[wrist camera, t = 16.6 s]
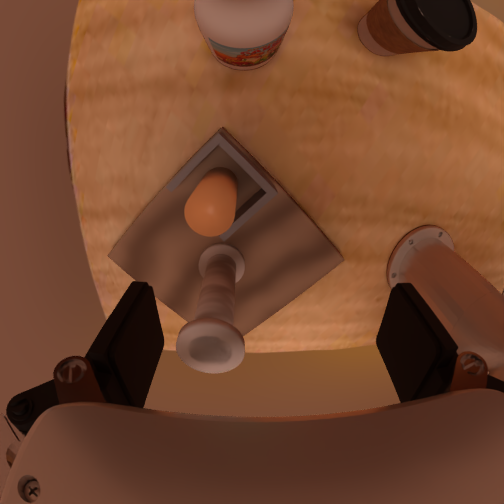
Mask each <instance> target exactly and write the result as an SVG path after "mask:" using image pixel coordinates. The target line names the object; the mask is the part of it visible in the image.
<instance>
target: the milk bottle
mask: <svg viewBox="0 0 504 504" xmlns="http://www.w3.org/2000/svg"><path fill="white" fill-rule="evenodd" d="M194 13H195V18H196V21H197V24H198V26H199V29H200V31H201V33H202V35H203V37H204V39H205V41H206V42H207V44H208V46H209V48H210V50H211V52H212V53H213V55H214V56H215V58H216V59H217V60H218V61H219V62H220V63H222V64H223V65H225V66H227V67H229V68H232V69H237V70H251V69H256V68H259V67H261V66H263V65H265V64H266V63H268V62H269V61H270V60H271V59H272V58H273V57H274V55H275V54H276V52H277V50H278V48H279V46H280V44H281V42H282V40H283V38H284V36H285V34H286V31H287V29H288V27H289V24H290V21H291V18H292V15H293V0H195V1H194Z"/></svg>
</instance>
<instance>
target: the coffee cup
mask: <svg viewBox="0 0 504 504" xmlns="http://www.w3.org/2000/svg"><path fill="white" fill-rule="evenodd" d="M476 33H477V20H476V15H475V11H474V8H473V5H472V3H471V1H470V0H379V1H378V2H377V3H376V4H375V5H374V7H373V8H372V9H371V10H370V11H369V12H368V13H367V14H366V15H365V16H364V17H363V18H362V19H361V21H360V22H359V24H358V35H359V38H360V40H361V42H362V43H363V44H364V46H365V47H366V48H367V49H369V50H370V51H371V52H373V53H375V54H377V55H381V56H390V55H396V54H404V53H413V52H424V51H438V50H443V51H457V50H460V49H462V48H464V47H465V46H466V45H468V44H470V43H471V42H473V40H474V39H475V37H476Z"/></svg>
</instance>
